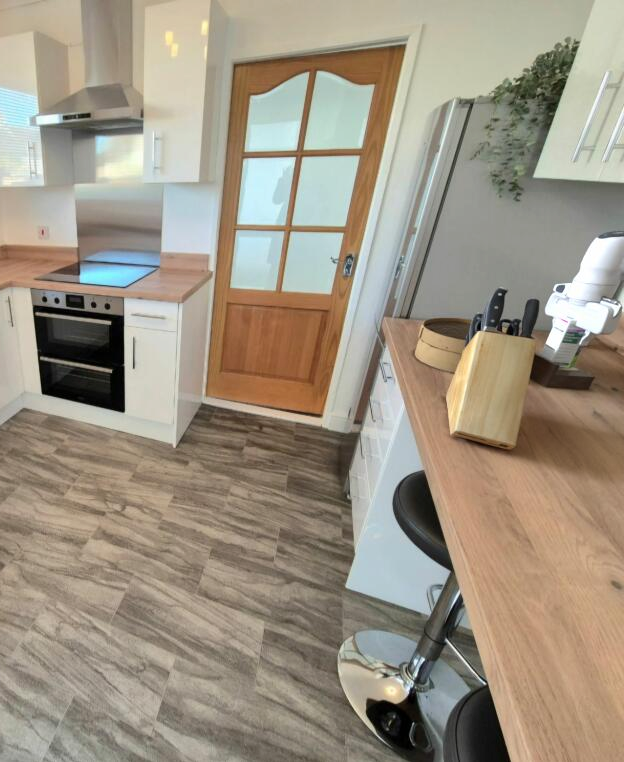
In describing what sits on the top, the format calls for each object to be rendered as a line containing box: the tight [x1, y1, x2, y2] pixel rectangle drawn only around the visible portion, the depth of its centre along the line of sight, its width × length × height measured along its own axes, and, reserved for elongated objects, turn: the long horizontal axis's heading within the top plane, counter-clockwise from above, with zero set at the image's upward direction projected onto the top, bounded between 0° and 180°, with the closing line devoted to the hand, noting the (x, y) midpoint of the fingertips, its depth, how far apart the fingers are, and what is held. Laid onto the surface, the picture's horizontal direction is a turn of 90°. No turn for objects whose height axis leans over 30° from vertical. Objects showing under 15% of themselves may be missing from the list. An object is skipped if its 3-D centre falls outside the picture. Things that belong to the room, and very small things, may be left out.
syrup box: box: [540, 315, 586, 368], centre depth 126 cm, size 6×6×14 cm
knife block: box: [445, 286, 541, 450], centre depth 103 cm, size 11×35×31 cm, turn 147°
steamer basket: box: [414, 317, 520, 374], centre depth 139 cm, size 25×25×11 cm
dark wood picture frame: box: [529, 351, 596, 390], centre depth 129 cm, size 11×16×7 cm
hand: (568, 339), depth 125 cm, fingers open, 8 cm apart
